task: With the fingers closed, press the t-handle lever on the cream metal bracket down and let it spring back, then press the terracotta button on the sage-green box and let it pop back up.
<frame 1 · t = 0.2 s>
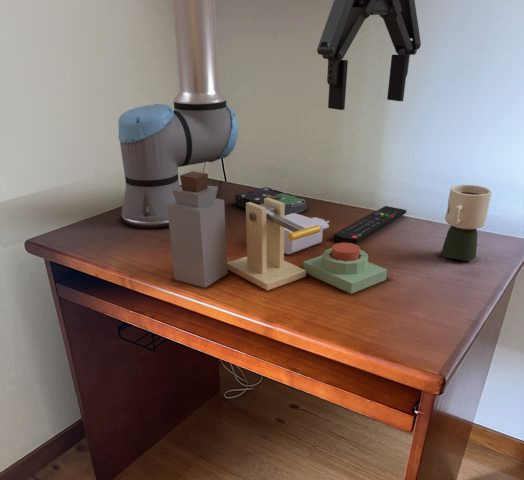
hand: (366, 104, 85), 28 cm above the table, tool pointing down, fingers open, 13 cm apart
charger: (301, 241, 113), on the table
trigger bracket: (265, 272, 99), on the table
remote control: (371, 228, 120), on the table
character mug: (457, 258, 105), on the table
perfume bottle: (201, 277, 98), on the table
t-handle lever: (282, 222, 91), point 11 cm above the table, hinge at -3.9°
button: (345, 252, 96), point 4 cm above the table, slide at 0.1 cm
button box: (343, 275, 98), on the table
disk drive: (270, 208, 132), on the table
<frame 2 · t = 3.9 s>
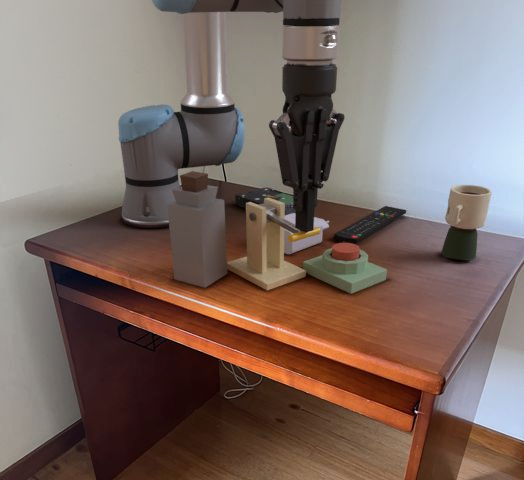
hand: (304, 229, 87), 11 cm above the table, tool pointing down, fingers closed
t-handle lever: (282, 222, 91), point 11 cm above the table, hinge at -5.7°, touching gripper
everything else where it was.
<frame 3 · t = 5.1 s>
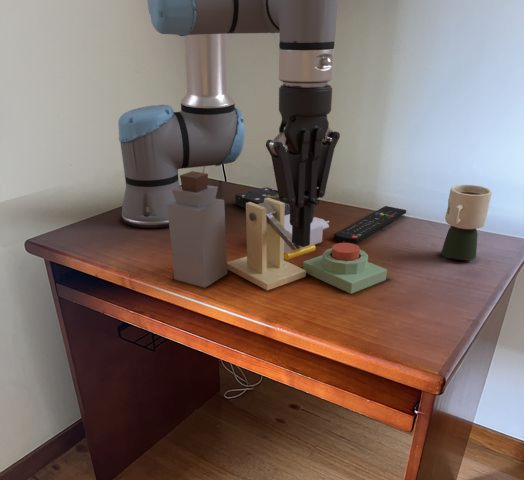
hand: (300, 243, 89), 8 cm above the table, tool pointing down, fingers closed
t-handle lever: (280, 230, 92), point 9 cm above the table, hinge at -24.8°, touching gripper
everything else where it was.
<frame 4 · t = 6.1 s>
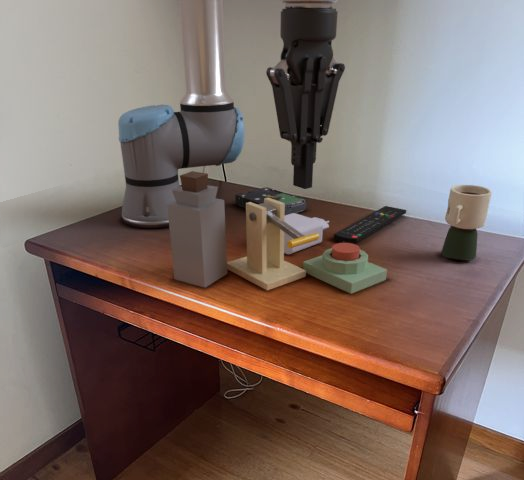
hand: (302, 186, 84), 17 cm above the table, tool pointing down, fingers closed
t-handle lever: (282, 225, 91), point 10 cm above the table, hinge at -11.5°
everything else where it was.
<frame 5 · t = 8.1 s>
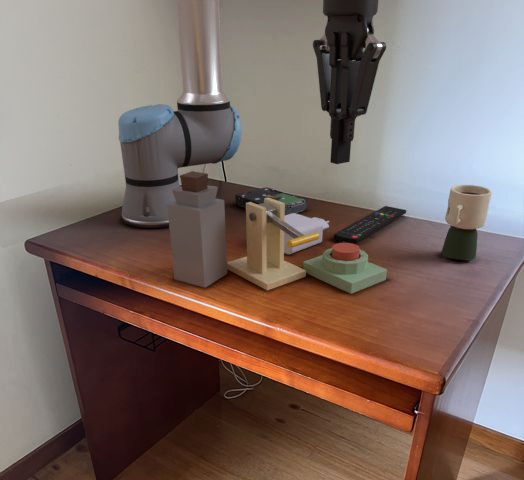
hand: (340, 162, 86), 20 cm above the table, tool pointing down, fingers closed
t-handle lever: (282, 225, 91), point 10 cm above the table, hinge at -11.1°
everything else where it was.
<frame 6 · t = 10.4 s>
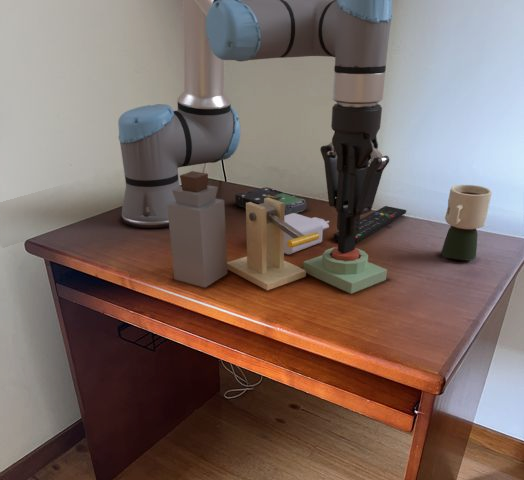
hand: (346, 249, 95), 5 cm above the table, tool pointing down, fingers closed
button: (345, 255, 96), point 4 cm above the table, slide at -0.6 cm, touching gripper
everything else where it was.
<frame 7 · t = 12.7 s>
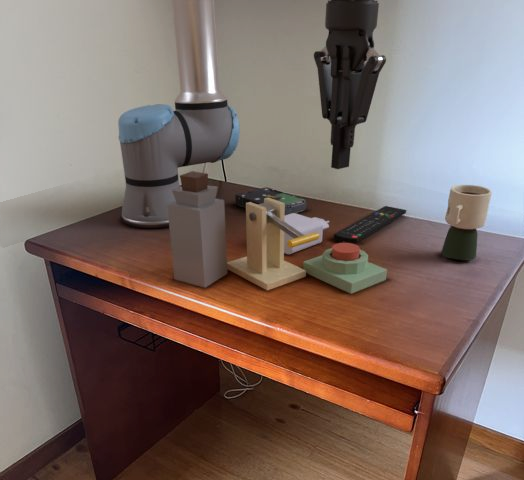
hand: (340, 166, 91), 18 cm above the table, tool pointing down, fingers closed
button: (345, 252, 96), point 4 cm above the table, slide at 0.1 cm
everything else where it was.
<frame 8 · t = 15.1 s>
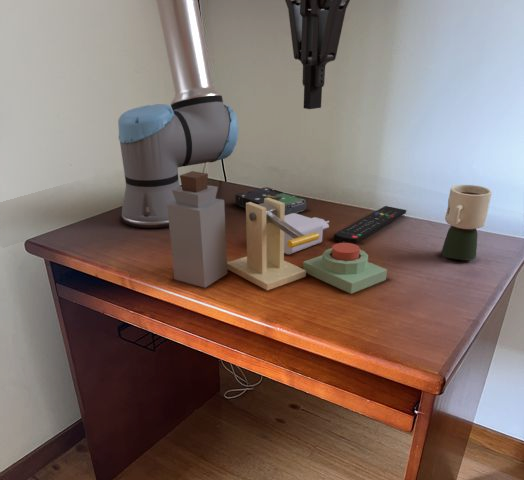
hand: (312, 107, 93), 26 cm above the table, tool pointing down, fingers closed
nothing on the table moved.
at the end: t-handle lever reached -25° during the clip, -11° at the end; button pushed in 1.2 cm at the most during the clip, back to where it started at the end; button slide at 0.1 cm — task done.
